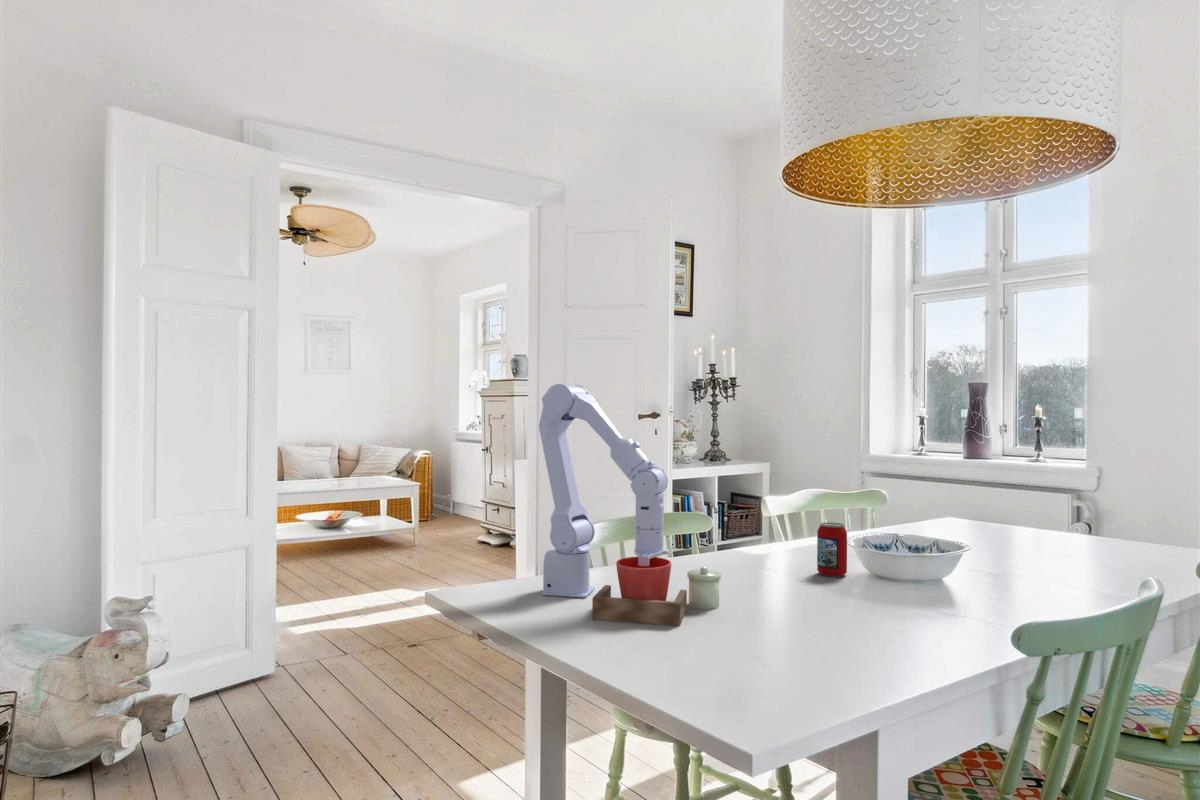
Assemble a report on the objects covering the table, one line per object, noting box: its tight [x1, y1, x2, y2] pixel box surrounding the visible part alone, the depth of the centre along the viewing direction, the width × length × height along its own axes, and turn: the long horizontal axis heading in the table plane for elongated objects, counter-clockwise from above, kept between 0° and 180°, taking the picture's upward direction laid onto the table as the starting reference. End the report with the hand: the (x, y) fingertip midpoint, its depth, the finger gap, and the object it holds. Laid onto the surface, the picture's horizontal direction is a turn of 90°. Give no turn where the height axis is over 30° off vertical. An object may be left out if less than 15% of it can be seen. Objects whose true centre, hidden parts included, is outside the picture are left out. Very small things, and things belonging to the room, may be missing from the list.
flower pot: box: [615, 556, 672, 601], centre depth 145 cm, size 11×11×10 cm
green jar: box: [686, 566, 722, 610], centre depth 150 cm, size 7×7×8 cm
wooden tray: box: [591, 584, 688, 627], centre depth 143 cm, size 16×11×4 cm, turn 77°
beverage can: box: [816, 521, 848, 578], centre depth 179 cm, size 7×7×12 cm
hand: (649, 595), depth 152 cm, fingers closed
